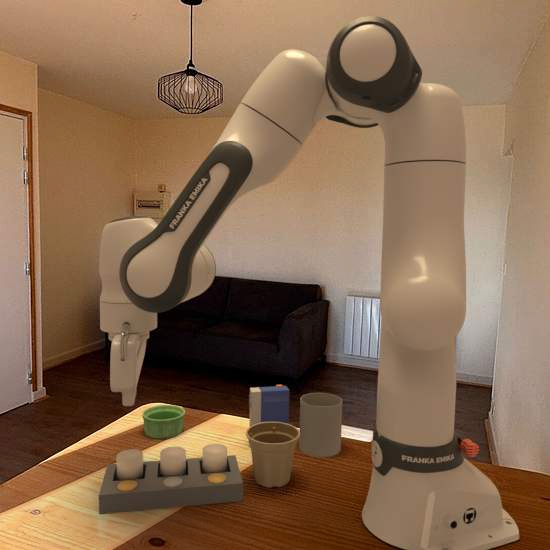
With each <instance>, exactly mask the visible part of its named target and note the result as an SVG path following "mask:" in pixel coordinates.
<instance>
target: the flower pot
mask: <svg viewBox="0 0 550 550" xmlns="http://www.w3.org/2000/svg"><path fill="white" fill-rule="evenodd" d="M245 436H246V438H247V439H248V445H249V444H250V445H251V448H250V452H251V453H250V454H251V459H252V461H251V462H252V466H253V467H252V468H253V478H254V481H255V483H257V484H258V485H260V486H262V487H265V488H270V489H271V488H273V487H278V488H280V487H284V486H286V485H287V484H288V483H290V480H291V473H292V466H293V461H294V455H295V450H296V446H297V445H298V441H299V437H300V428H299V429H298V428H297V426H295V425H293V424H290V423H289V424H287V423H282V422H261V423H257V424H254V425H252V426H250V427H248V428H247V429H246V430H245Z"/></svg>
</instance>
